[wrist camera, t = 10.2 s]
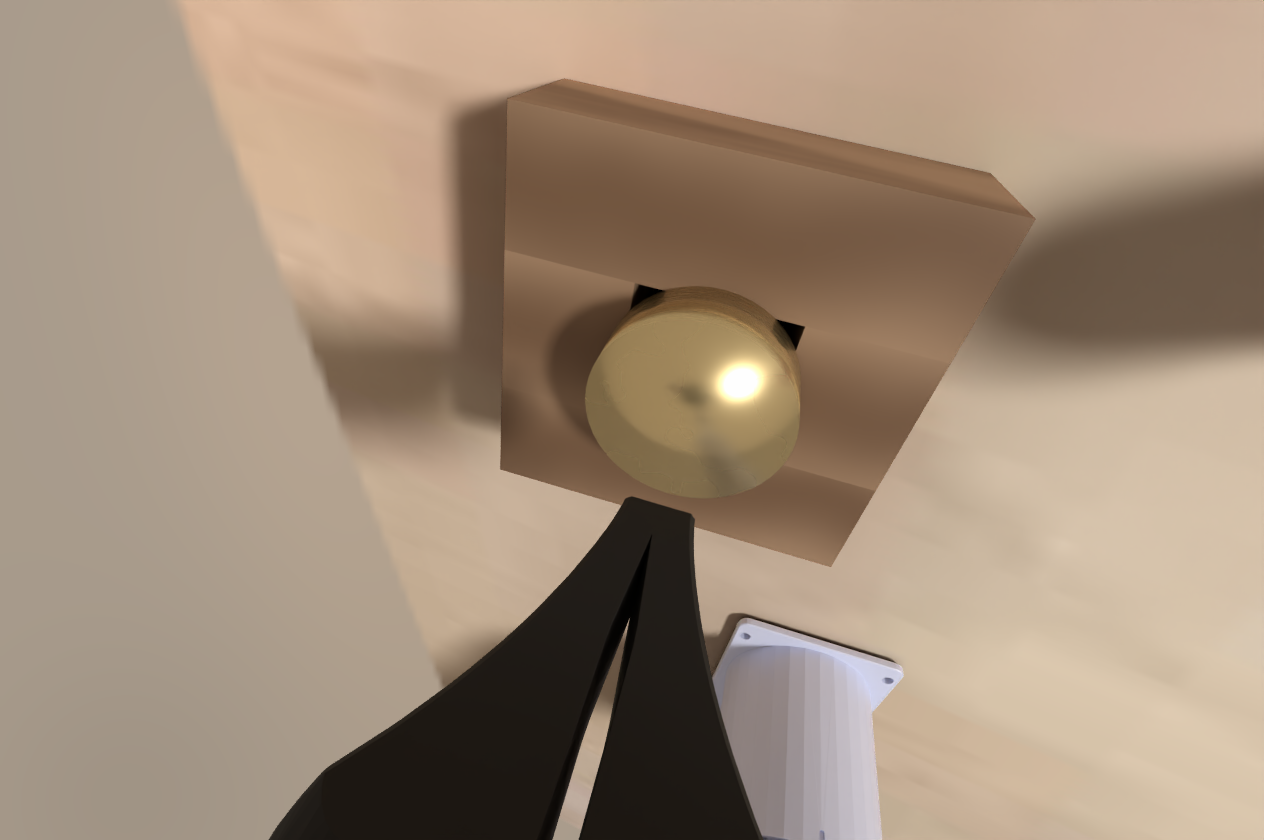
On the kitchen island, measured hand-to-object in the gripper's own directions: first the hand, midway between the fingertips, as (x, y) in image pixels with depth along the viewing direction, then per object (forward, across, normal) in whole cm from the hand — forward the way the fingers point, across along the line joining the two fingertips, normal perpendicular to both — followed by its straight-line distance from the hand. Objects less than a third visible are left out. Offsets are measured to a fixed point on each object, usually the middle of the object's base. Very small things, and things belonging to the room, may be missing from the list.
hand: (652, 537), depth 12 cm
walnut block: (+10, 0, 0) cm, 10 cm away
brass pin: (+10, 0, 0) cm, 10 cm away
